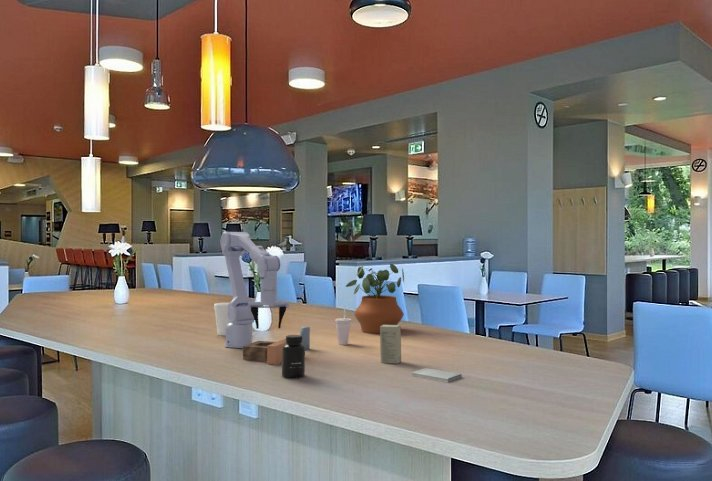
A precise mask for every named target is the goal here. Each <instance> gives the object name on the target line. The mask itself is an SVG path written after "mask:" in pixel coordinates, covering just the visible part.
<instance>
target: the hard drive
mask: <svg viewBox="0 0 712 481" xmlns="http://www.w3.org/2000/svg"><path fill="white" fill-rule="evenodd" d="M411 377H417V378H422V379H427V380H432V381H433V380H434V381H437V382H438V381H439V382H444V383H449V382H453V381H456V380H458V379H461V378H462V374H461V373H458V372H451V371H445V370H439V369H433V368H428V367H427V368H426V367H425V368H421V369H418V370H415V371H412V372H411Z"/></svg>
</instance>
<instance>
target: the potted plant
mask: <svg viewBox="0 0 712 481" xmlns="http://www.w3.org/2000/svg"><path fill="white" fill-rule="evenodd" d="M388 268H390V270H391V271H392V272H391V273H390V271H389V270H388V269H383V270H382V269H380V270H378V271H377V272H376V271H374V270H373V268H368V267H366V268H365V269H366V271H368V272H369V273H368V274H367V275H366V274H365V269H364V265H362V266H358V267H357V272H356V277H357V278H358V279H363V280H362V282H361V283H362V284H360V283H358V284H357V282H358V280H357V279H354V280H351V281H349V282H348V283H347V284H346V285H345V287H346V288H348V287H352V286H356V287H355V288H354V291H353V295H355V294H357V293H358V291H359V289H361V291H363V292H364V293H365V294H366V295H363V296H361V302H360V304H359V305H358V306H357V308H356V309H355V312H354V316H355V319H356V320H357V322H358V323H359V324H360V330H361V332H364V333H366V332H368V333H369V334H378V333H380V326H382V325H399V323H400V322H401V320H402V319H403V317H404V315H405V314H404V311H403V309H402V308H401V307H400V306H399V304H398V301H397V296H394V295H386V294H385V295H381V294H382V293H385V292H386V291H388V292H389V293H390V294H394V292H396V291H397V290H396V287H397V288H400V287H401V285H402V284H401V283H402V282H403V283H405V273H404V268H403V267H402V268H401V273H402V277H401V276H400V277H399V278H397V277H396V278H397V281H396V283H395V282H393V281H392V282H389V281H391V279H390V275H391V274H392V273H394V274H399V268H398V267H397V266H396V265H395V264H394V263H390V264H389V266H388ZM365 275H366V276H365ZM364 276H365V277H364ZM388 280H389V281H388ZM385 281H386V282H385ZM384 282H385V283H384ZM360 285H361V286H360ZM361 287H362V288H361ZM371 287H372V288H373V289H374V292H375V293H374V292H373V291H372V290H371ZM385 287H386V289H385V290H383V289H384V288H385ZM370 292H371V293H372V295H370V294H371V293H370Z"/></svg>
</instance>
